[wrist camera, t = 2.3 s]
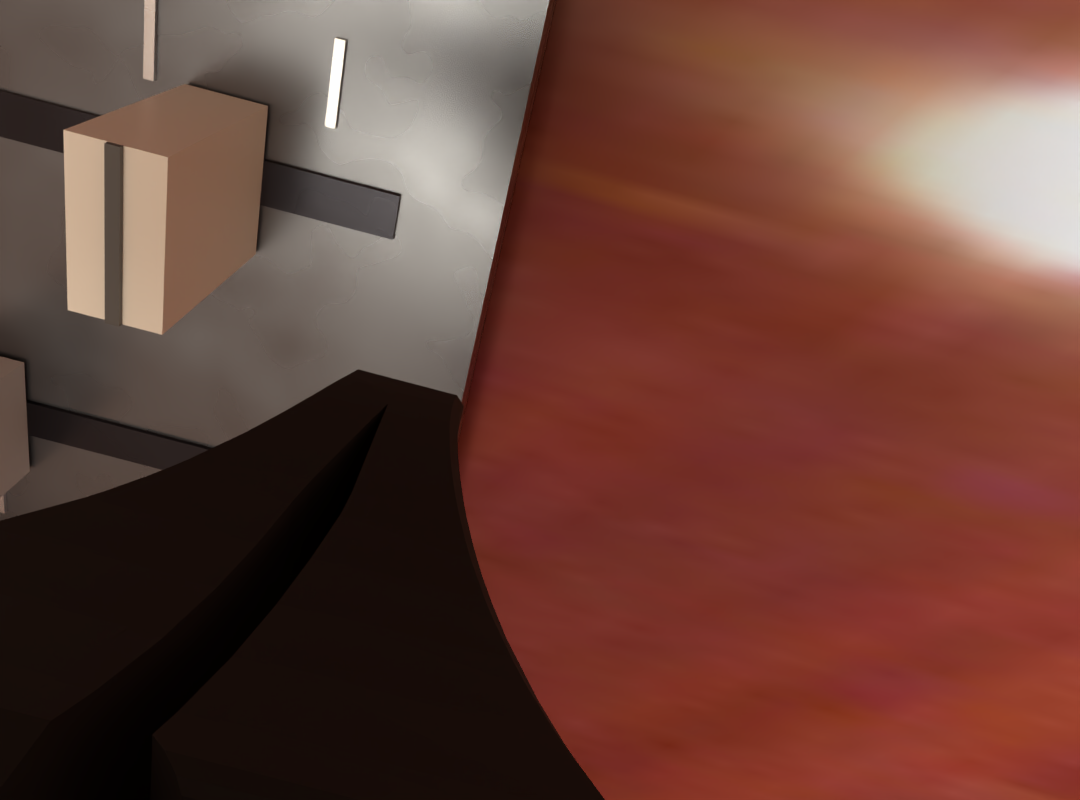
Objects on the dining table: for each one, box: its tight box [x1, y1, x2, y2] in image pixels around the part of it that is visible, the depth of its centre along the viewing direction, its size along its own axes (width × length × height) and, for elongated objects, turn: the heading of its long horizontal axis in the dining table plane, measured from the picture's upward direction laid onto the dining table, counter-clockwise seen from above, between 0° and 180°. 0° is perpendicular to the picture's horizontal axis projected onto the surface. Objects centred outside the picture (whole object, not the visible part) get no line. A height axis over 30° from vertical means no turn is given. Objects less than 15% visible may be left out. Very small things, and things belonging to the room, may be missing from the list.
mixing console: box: [0, 0, 556, 521], centre depth 20 cm, size 17×21×2 cm
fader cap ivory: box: [63, 84, 268, 335], centre depth 16 cm, size 3×2×4 cm, turn 167°
